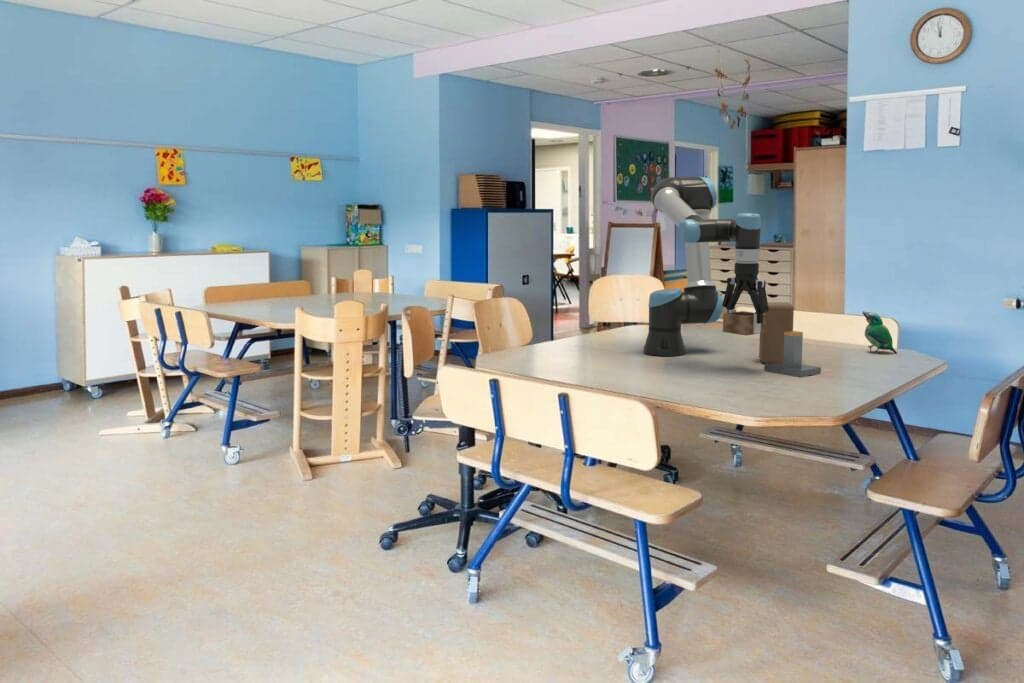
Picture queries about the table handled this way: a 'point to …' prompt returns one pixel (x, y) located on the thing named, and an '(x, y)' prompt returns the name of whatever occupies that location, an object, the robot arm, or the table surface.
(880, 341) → the toy
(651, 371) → the table surface
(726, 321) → the wooden cube shelf
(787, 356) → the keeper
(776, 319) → the block
